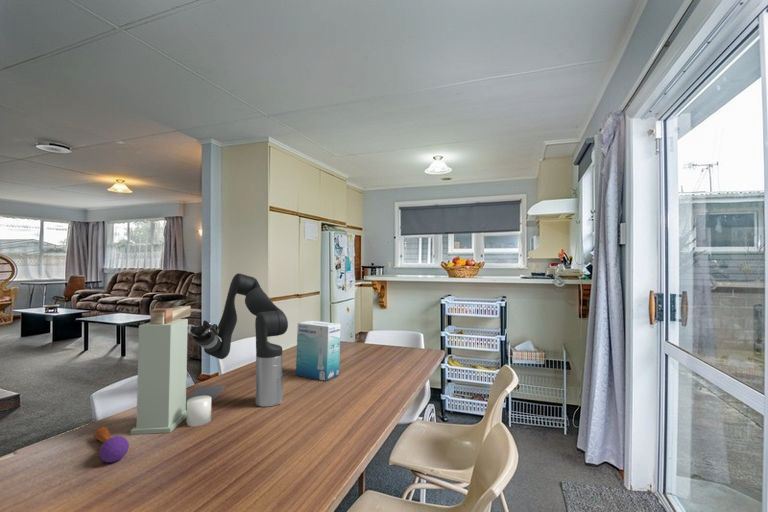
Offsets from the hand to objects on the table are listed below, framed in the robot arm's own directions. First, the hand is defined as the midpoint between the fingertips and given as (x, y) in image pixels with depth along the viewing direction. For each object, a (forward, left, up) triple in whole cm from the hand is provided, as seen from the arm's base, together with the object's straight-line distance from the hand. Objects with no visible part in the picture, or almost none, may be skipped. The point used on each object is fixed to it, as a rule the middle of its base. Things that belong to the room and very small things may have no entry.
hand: (192, 323), depth 134 cm
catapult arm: (0, +16, +4) cm, 17 cm away
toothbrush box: (-46, -23, -29) cm, 59 cm away
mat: (-4, 0, -28) cm, 29 cm away
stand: (0, +21, -28) cm, 35 cm away
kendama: (+6, +37, -29) cm, 47 cm away
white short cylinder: (-11, +21, -28) cm, 37 cm away
